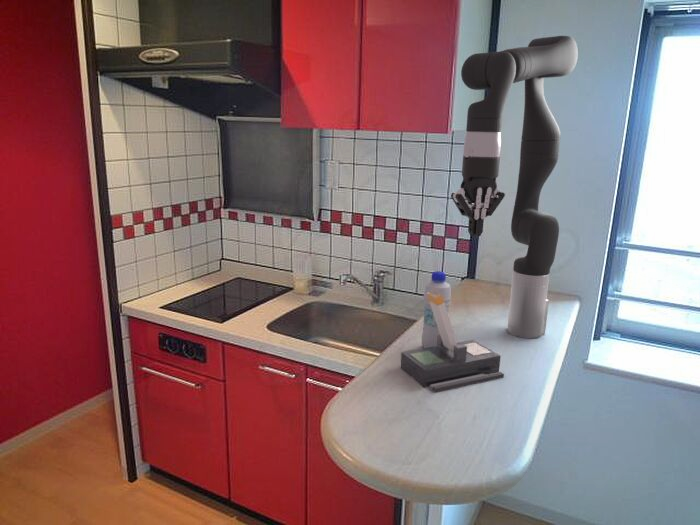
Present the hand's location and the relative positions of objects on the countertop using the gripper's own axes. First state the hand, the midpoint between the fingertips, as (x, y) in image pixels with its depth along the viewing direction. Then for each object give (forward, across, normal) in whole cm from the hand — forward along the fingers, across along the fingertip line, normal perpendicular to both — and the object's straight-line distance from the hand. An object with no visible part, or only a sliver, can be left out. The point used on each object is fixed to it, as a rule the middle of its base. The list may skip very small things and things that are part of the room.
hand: (474, 235), depth 114 cm
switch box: (+31, +4, 0) cm, 31 cm away
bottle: (+31, 0, -12) cm, 33 cm away
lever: (+26, +4, 0) cm, 26 cm away
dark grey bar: (+31, +4, +7) cm, 32 cm away
